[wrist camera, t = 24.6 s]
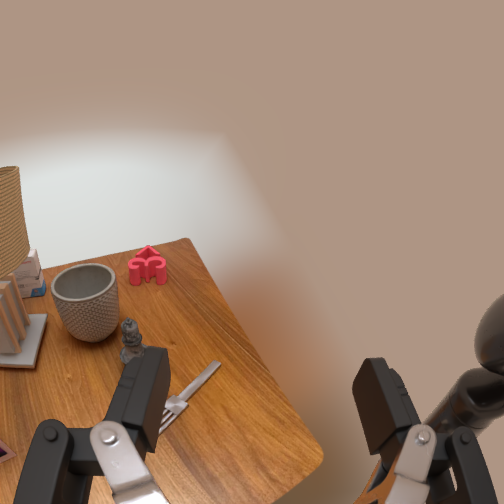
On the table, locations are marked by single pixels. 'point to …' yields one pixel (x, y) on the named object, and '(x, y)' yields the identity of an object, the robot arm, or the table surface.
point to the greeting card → (5, 452)
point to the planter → (87, 301)
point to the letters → (147, 266)
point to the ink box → (30, 276)
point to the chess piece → (131, 341)
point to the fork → (185, 396)
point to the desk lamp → (4, 283)
